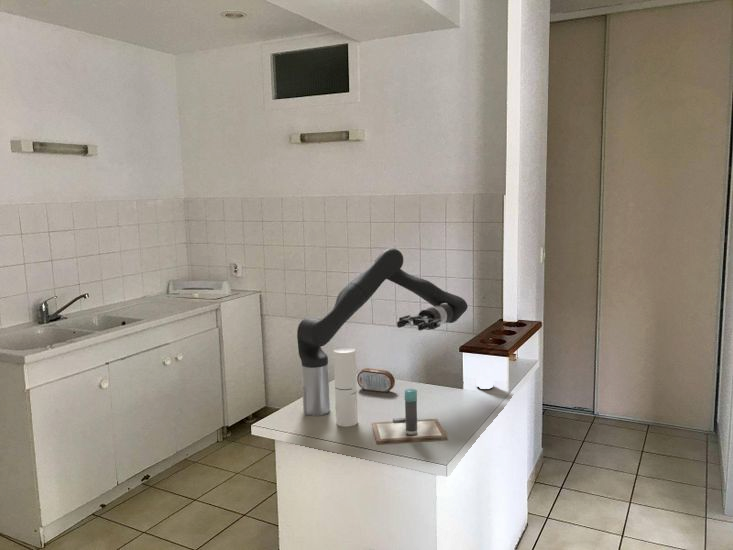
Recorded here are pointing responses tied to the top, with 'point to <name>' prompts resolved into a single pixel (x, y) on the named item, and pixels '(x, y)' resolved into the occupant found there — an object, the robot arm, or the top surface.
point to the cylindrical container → (345, 386)
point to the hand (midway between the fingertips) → (408, 326)
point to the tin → (376, 380)
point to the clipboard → (397, 431)
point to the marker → (411, 412)
